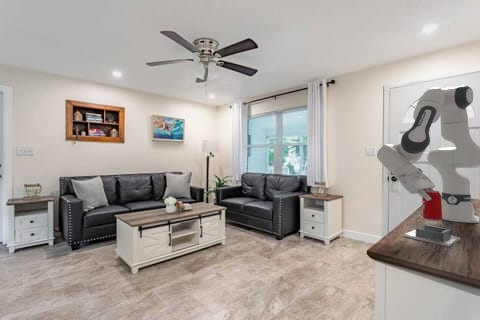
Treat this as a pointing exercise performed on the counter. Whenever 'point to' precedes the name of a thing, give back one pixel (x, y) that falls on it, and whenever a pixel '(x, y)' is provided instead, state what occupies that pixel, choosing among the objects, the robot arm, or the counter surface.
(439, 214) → the beverage can
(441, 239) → the grey socket base
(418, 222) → the counter surface
